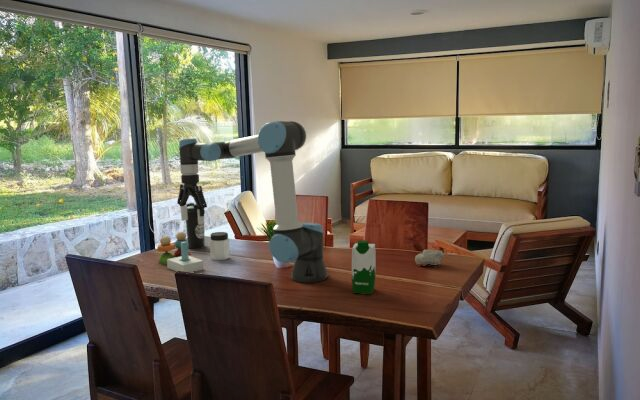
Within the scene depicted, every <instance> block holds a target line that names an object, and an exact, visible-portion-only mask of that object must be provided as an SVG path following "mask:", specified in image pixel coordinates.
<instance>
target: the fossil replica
mask: <svg viewBox="0 0 640 400" xmlns="http://www.w3.org/2000/svg"><path fill="white" fill-rule="evenodd" d="M444 255H445V254H444V252H443V250H439V249H424V250H422V252H420V253H419V254H417V255H415V258H414V260H415V263H416V264H417V265H418V264H434V265H436V264H439V265H440V264H441V261H442V258H444Z"/></svg>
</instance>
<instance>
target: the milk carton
mask: <svg viewBox="0 0 640 400" xmlns="http://www.w3.org/2000/svg"><path fill="white" fill-rule="evenodd" d="M376 253H377V251H376V244H375V243H369V241H368V240H365V239H364V240H363V239H362V240H358V241H357V243H354V244H353V247H352V249H351V284H352V294H353V293H365V294H372V295H373V292H374V290H373V289H375V283H376V269H377V267H376V263H377V261H376V258H377V257H376V255H377V254H376Z"/></svg>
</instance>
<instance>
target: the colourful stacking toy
mask: <svg viewBox="0 0 640 400" xmlns="http://www.w3.org/2000/svg"><path fill="white" fill-rule="evenodd" d="M175 237H176V240H175V242H174V243H172V241H171V240H172V239H171V237H169V235H163V236H162V237H160V240H159V243H160V244H159V245H157V250H156V252H157V251H158V252H164V253H162V254H161V255H160V257H159V260H158V264H160V265H167V259H171V258H175V257H179V256H182V255H181V242H188V240H187V233H185V232H184V231H179V232H177V233H176V235H175ZM188 245H189V244H188ZM175 249H176V250H175ZM174 250H175V251H174ZM170 251H174V253H171V252H170ZM188 256H191V257H194V258H196V257H195V255H191V253H190V251H189V250H188Z"/></svg>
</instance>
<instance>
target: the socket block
mask: <svg viewBox="0 0 640 400" xmlns="http://www.w3.org/2000/svg"><path fill="white" fill-rule="evenodd" d="M166 266H167V269H169V270H172V271H174V272H177V271H187V272H191V273H195V272H198V271H203V270H205V269H204V267H205V266H204V260H203V259H200V258H197V257H195V258H194V257H191V256H189V261H184V262H182V256H181V255H179V256H176V257H175V258H171V259H167V264H166ZM194 271H195V272H194Z"/></svg>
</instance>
